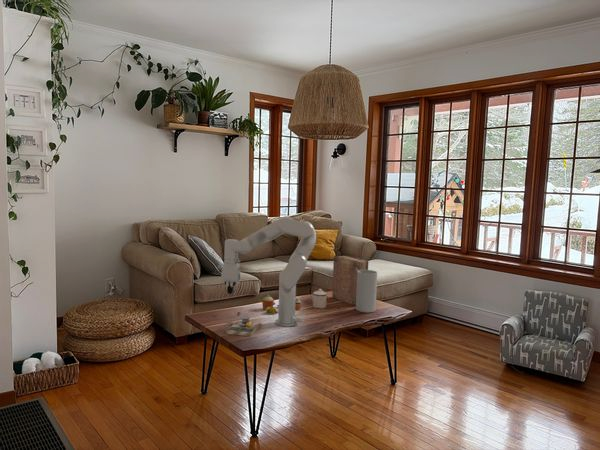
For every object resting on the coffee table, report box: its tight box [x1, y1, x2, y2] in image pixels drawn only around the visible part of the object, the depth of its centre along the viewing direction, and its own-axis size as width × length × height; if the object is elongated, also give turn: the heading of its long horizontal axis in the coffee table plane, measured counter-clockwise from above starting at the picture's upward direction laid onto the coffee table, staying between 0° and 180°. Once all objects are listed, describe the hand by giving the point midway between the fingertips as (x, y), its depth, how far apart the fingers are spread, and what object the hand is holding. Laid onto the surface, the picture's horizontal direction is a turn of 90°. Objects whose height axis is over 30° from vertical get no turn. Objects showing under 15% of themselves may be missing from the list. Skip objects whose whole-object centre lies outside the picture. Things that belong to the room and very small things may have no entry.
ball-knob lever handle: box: [236, 311, 252, 328], centre depth 254 cm, size 23×6×4 cm, turn 22°
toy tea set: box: [259, 294, 302, 315], centre depth 291 cm, size 26×16×10 cm, turn 121°
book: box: [332, 254, 369, 307], centre depth 316 cm, size 25×9×30 cm, turn 35°
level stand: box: [225, 320, 263, 337], centre depth 250 cm, size 14×18×2 cm
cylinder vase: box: [355, 269, 378, 314], centre depth 295 cm, size 12×12×25 cm
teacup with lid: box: [310, 288, 328, 309], centre depth 301 cm, size 12×9×12 cm
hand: (230, 293), depth 261 cm, fingers closed
